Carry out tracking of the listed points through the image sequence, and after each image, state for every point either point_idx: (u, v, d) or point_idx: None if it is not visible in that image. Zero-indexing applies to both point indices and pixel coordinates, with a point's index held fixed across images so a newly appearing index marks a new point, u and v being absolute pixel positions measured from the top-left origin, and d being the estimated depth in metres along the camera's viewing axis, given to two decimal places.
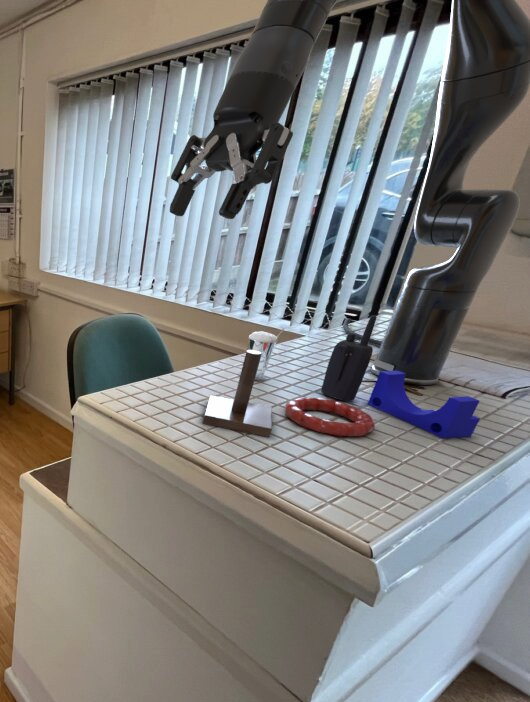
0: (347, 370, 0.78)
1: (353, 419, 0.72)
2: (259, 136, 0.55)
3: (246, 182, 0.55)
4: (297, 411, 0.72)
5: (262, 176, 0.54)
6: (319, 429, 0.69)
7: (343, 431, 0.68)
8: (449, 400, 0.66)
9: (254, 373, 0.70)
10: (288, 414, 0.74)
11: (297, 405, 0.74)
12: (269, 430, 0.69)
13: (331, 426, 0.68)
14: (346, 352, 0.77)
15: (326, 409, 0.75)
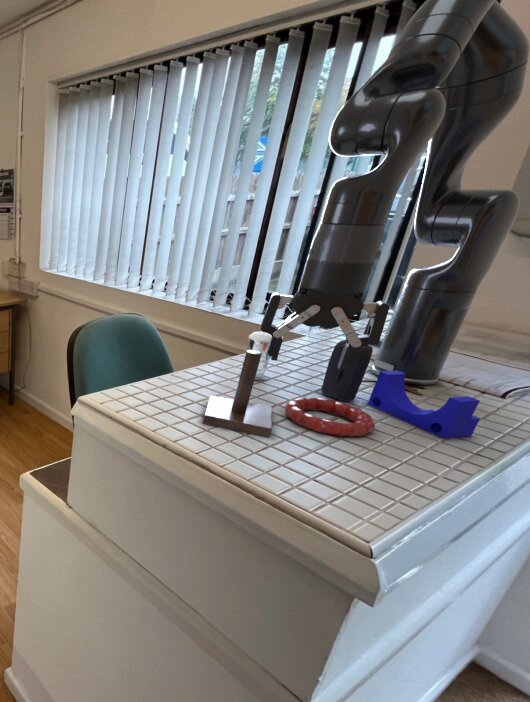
0: (347, 370, 0.78)
1: (353, 419, 0.72)
2: None
3: (360, 346, 0.67)
4: (297, 411, 0.72)
5: None
6: (319, 429, 0.69)
7: (343, 431, 0.68)
8: (449, 400, 0.66)
9: (254, 373, 0.70)
10: (288, 414, 0.74)
11: (297, 405, 0.74)
12: (269, 430, 0.69)
13: (331, 426, 0.68)
14: None
15: (326, 409, 0.75)
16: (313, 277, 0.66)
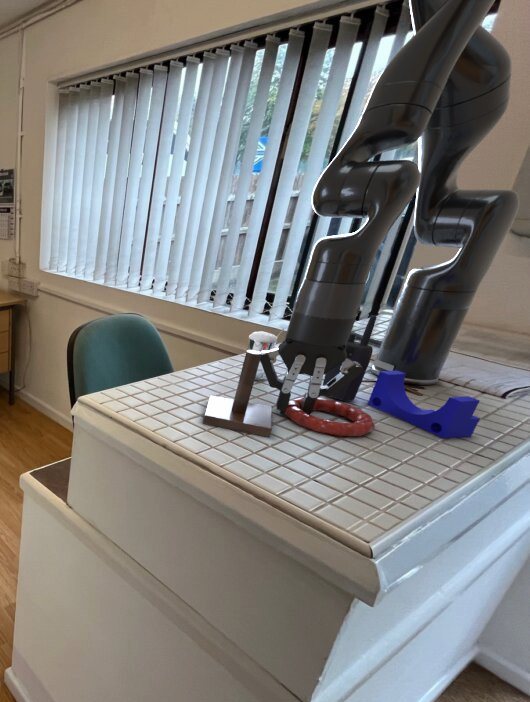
0: None
1: (353, 419, 0.72)
2: (341, 362, 0.69)
3: (315, 398, 0.72)
4: (297, 411, 0.72)
5: None
6: (319, 429, 0.69)
7: (343, 431, 0.68)
8: (449, 400, 0.66)
9: (254, 373, 0.70)
10: (288, 414, 0.74)
11: (297, 405, 0.74)
12: (269, 430, 0.69)
13: (331, 426, 0.68)
14: (346, 352, 0.77)
15: (326, 409, 0.75)
16: (298, 329, 0.69)
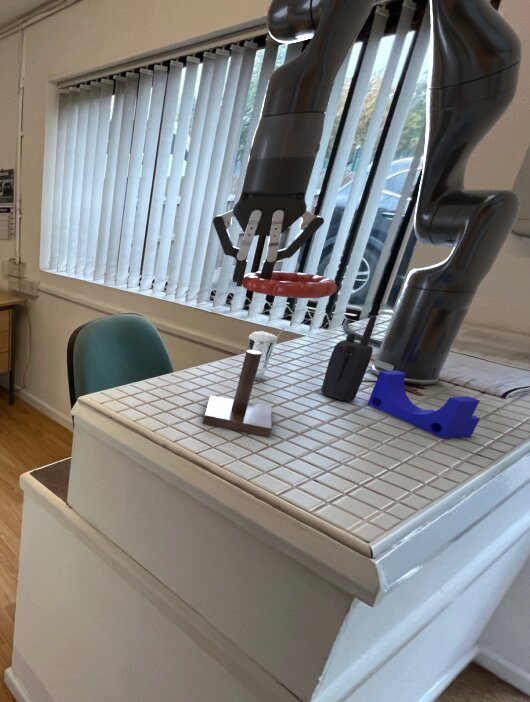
0: (347, 370, 0.78)
1: None
2: (300, 215, 0.62)
3: (273, 262, 0.65)
4: (253, 278, 0.65)
5: None
6: (276, 291, 0.62)
7: (301, 290, 0.60)
8: (449, 400, 0.66)
9: (254, 373, 0.70)
10: (244, 284, 0.66)
11: (254, 275, 0.67)
12: (269, 430, 0.69)
13: (288, 287, 0.61)
14: (346, 352, 0.77)
15: (287, 282, 0.68)
16: (253, 178, 0.61)
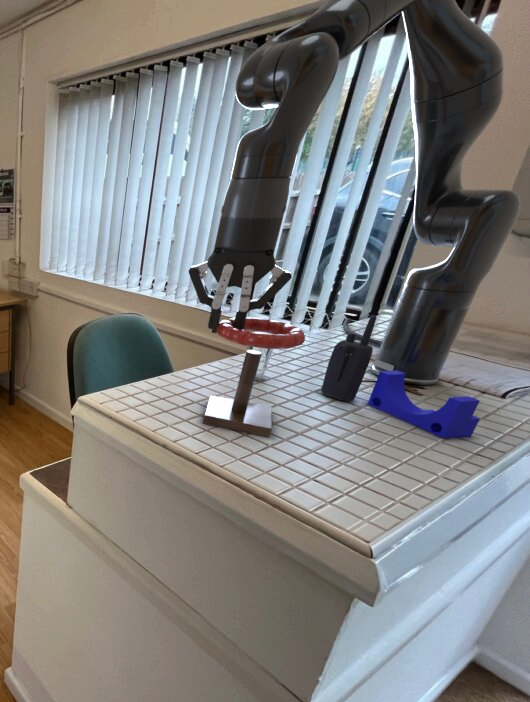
0: (347, 370, 0.78)
1: None
2: (270, 270, 0.65)
3: (245, 312, 0.68)
4: (227, 327, 0.68)
5: None
6: (247, 342, 0.65)
7: (270, 342, 0.64)
8: (449, 400, 0.66)
9: (254, 373, 0.70)
10: (218, 331, 0.70)
11: (228, 322, 0.70)
12: (269, 430, 0.69)
13: (258, 338, 0.64)
14: (346, 352, 0.77)
15: (260, 328, 0.71)
16: (224, 235, 0.65)
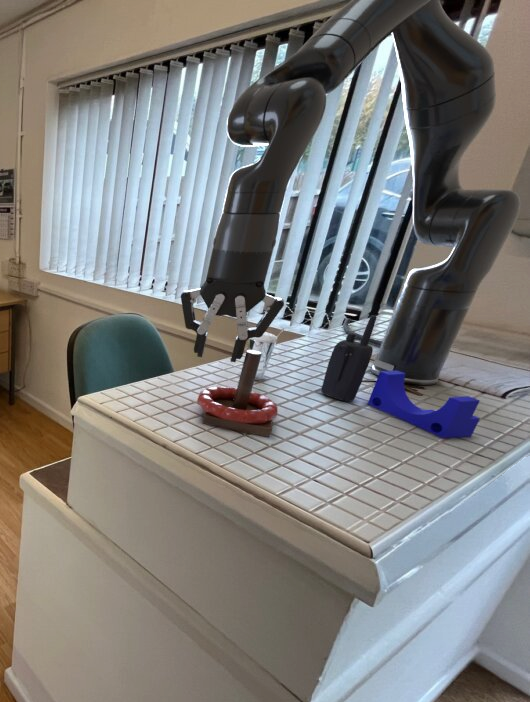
0: (347, 370, 0.78)
1: (260, 407, 0.73)
2: (261, 300, 0.67)
3: (246, 339, 0.69)
4: (206, 399, 0.74)
5: None
6: (224, 416, 0.71)
7: (245, 418, 0.69)
8: (449, 400, 0.66)
9: (254, 373, 0.70)
10: (199, 402, 0.75)
11: (208, 394, 0.75)
12: (269, 430, 0.69)
13: (234, 414, 0.70)
14: (346, 352, 0.77)
15: None
16: (216, 266, 0.66)
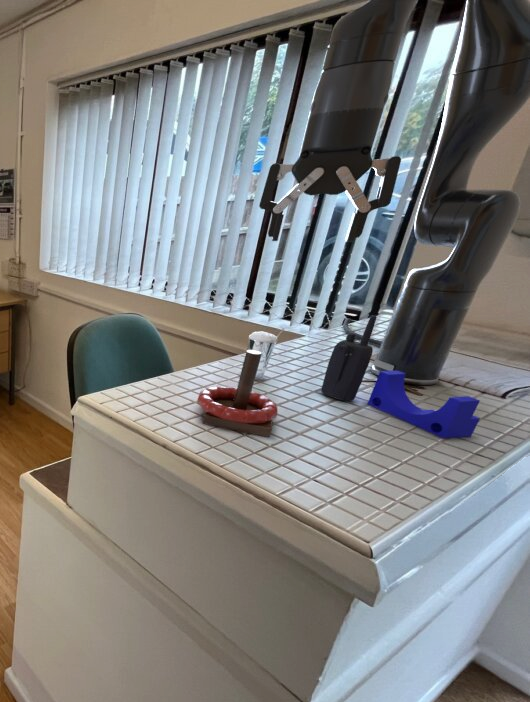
0: (347, 370, 0.78)
1: (260, 407, 0.73)
2: (370, 166, 0.59)
3: (370, 210, 0.61)
4: (206, 399, 0.74)
5: None
6: (224, 416, 0.71)
7: (245, 418, 0.69)
8: (449, 400, 0.66)
9: (254, 373, 0.70)
10: (199, 402, 0.75)
11: (208, 394, 0.75)
12: (269, 430, 0.69)
13: (234, 414, 0.70)
14: (346, 352, 0.77)
15: None
16: (315, 134, 0.59)
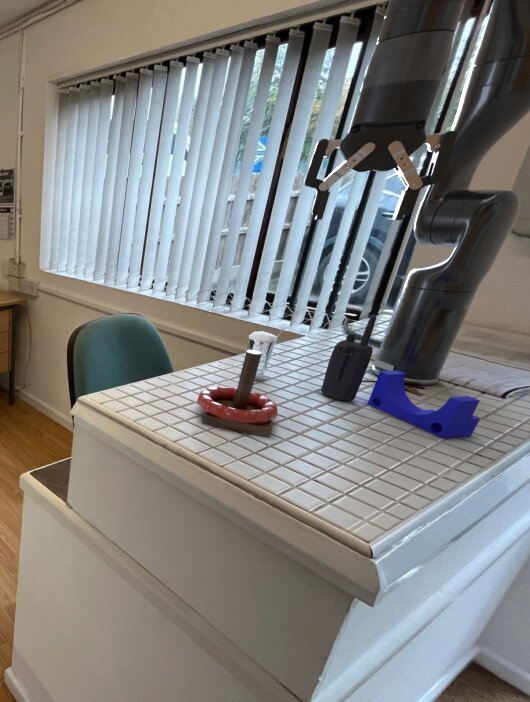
0: (347, 370, 0.78)
1: (260, 407, 0.73)
2: (424, 142, 0.58)
3: (421, 187, 0.60)
4: (206, 399, 0.74)
5: None
6: (224, 416, 0.71)
7: (245, 418, 0.69)
8: (449, 400, 0.66)
9: (254, 373, 0.70)
10: (199, 402, 0.75)
11: (208, 394, 0.75)
12: (269, 430, 0.69)
13: (234, 414, 0.70)
14: (346, 352, 0.77)
15: None
16: (368, 107, 0.58)
